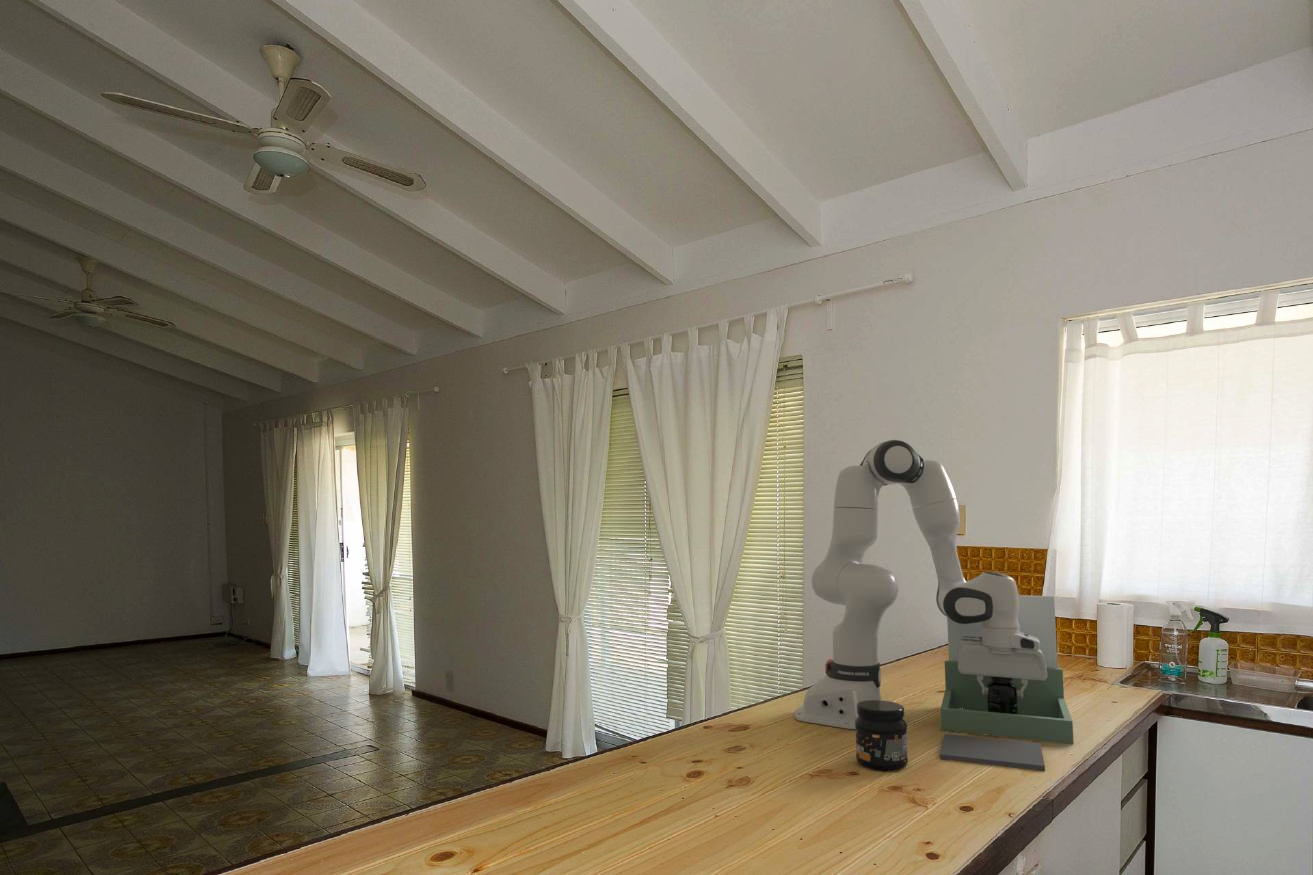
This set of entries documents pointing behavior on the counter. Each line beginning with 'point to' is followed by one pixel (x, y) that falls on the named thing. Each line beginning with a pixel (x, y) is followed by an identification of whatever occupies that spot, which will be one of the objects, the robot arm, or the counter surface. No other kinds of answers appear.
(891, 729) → the supplement container
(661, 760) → the counter surface
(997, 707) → the supplement bottle
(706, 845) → the counter surface
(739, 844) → the counter surface
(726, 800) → the counter surface
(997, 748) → the mat
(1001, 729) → the cold frame
